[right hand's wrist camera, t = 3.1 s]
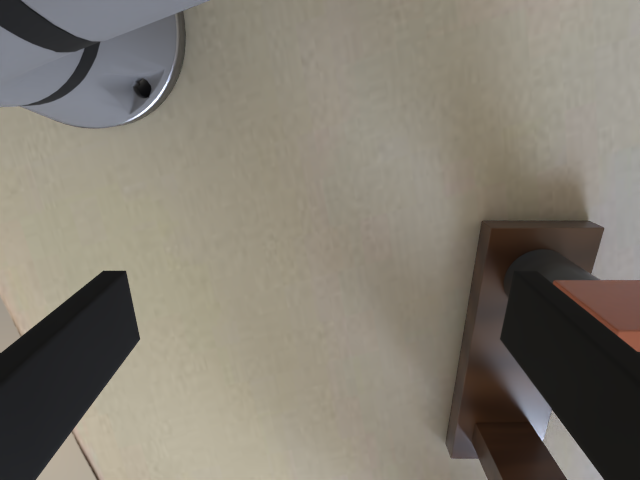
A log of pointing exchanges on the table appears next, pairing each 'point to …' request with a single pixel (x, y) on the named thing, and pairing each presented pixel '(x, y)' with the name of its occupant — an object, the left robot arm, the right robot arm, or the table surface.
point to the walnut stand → (494, 358)
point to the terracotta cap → (609, 304)
